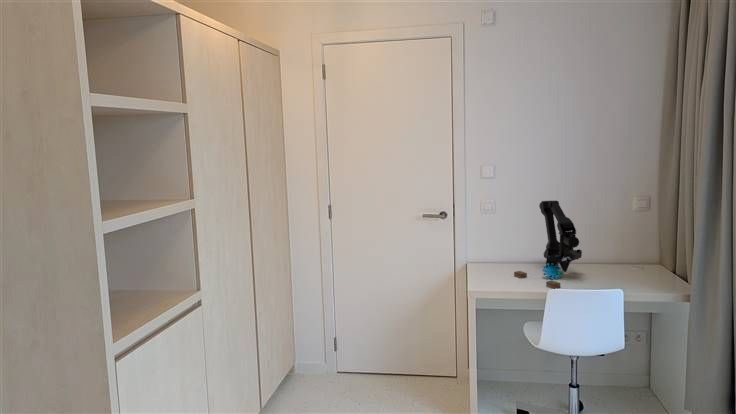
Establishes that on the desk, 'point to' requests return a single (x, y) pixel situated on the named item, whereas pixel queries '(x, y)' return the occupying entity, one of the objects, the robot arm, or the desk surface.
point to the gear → (552, 271)
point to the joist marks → (549, 283)
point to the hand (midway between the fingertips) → (564, 272)
